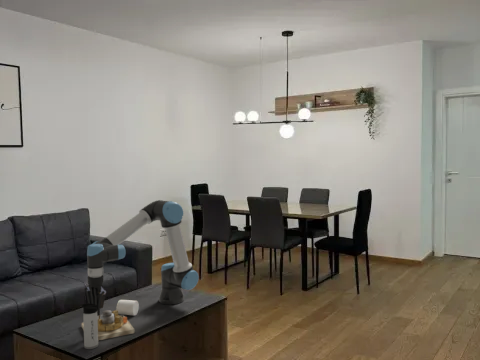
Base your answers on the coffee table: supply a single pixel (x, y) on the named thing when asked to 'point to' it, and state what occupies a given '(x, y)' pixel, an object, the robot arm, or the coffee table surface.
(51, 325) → the coffee table surface
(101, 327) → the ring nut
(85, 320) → the travel mug
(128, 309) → the mug
